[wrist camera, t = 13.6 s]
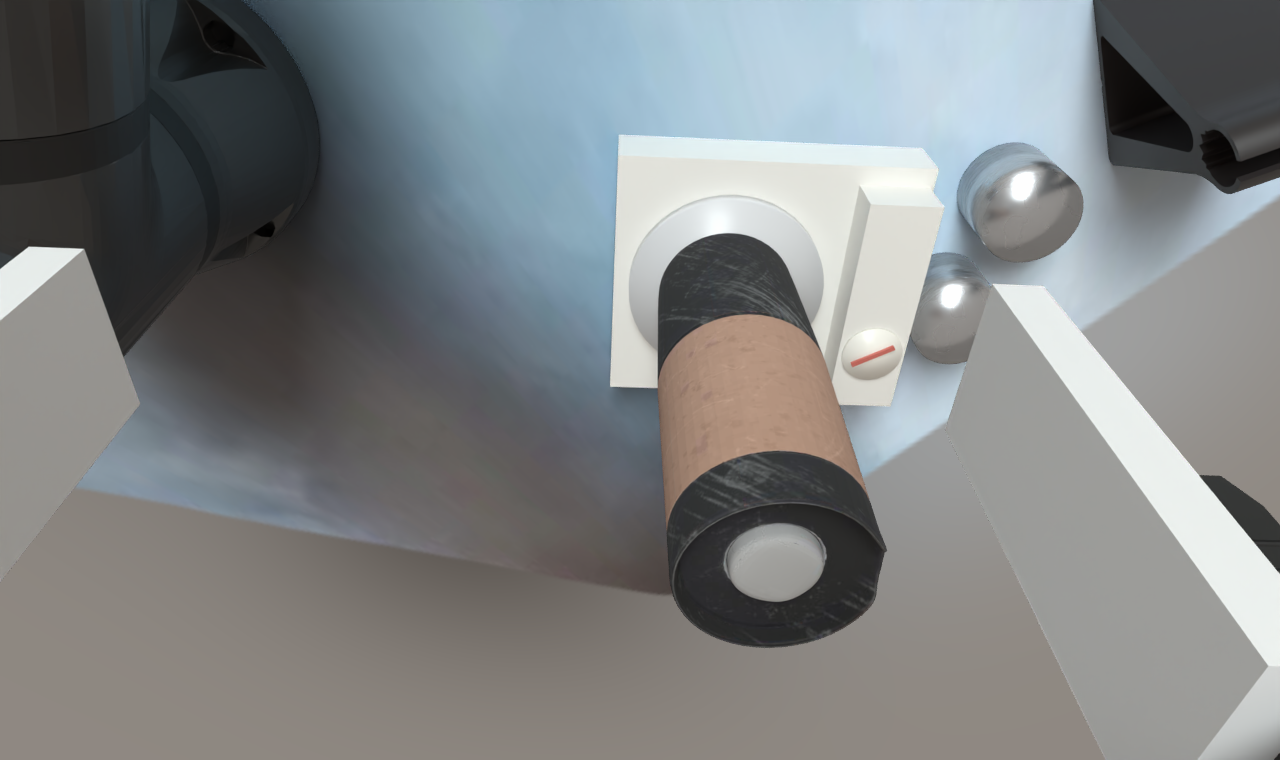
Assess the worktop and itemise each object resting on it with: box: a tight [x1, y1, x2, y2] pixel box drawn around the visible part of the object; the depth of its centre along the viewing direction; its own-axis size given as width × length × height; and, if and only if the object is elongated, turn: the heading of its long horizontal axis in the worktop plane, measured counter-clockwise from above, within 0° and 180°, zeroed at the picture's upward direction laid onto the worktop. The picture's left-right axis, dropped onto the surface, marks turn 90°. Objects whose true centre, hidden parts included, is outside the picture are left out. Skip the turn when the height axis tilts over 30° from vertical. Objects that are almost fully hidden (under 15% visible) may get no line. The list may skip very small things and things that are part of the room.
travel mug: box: [658, 233, 887, 648], centre depth 37 cm, size 8×8×20 cm
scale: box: [610, 135, 945, 406], centre depth 46 cm, size 16×14×6 cm
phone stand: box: [1093, 0, 1280, 194], centre depth 37 cm, size 9×6×12 cm, turn 22°
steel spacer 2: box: [957, 143, 1083, 262], centre depth 45 cm, size 5×5×4 cm
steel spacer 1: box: [910, 253, 991, 364], centre depth 48 cm, size 5×5×4 cm
